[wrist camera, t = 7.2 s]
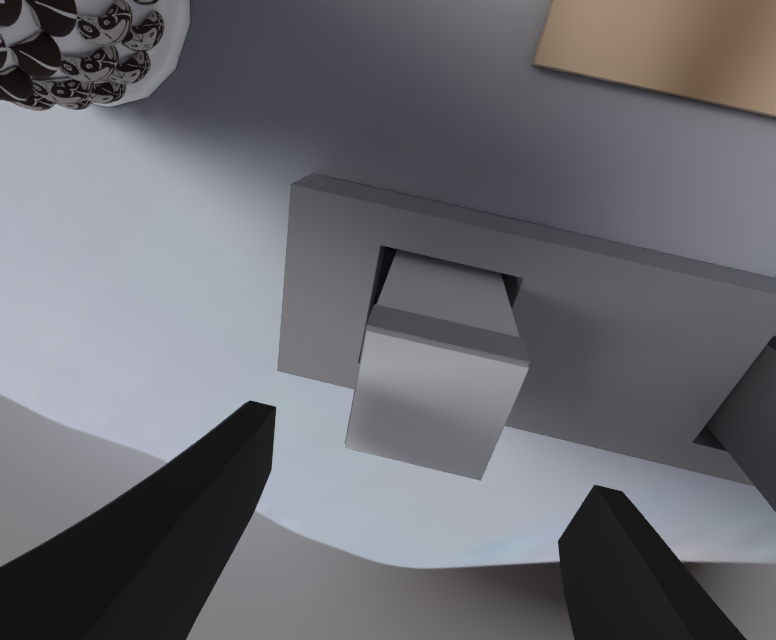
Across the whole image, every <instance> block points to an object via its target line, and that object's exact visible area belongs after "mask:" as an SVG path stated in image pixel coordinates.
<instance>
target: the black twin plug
mask: <svg viewBox="0 0 776 640" xmlns="http://www.w3.org/2000/svg"><path fill="white" fill-rule="evenodd" d="M706 425H707V426H708V428H709V429H710V430H711V431H712V433H713V434H714V435H715V436H716V438H717V439H718V440H719V441H720V443H721V444H722V445H723V446H724V448H725V449H726V450H727V452H728V453H729V454H730V455H731V457H732V458H733V459H734V460H735V462H736V463H737V464H738V465H739V467H740V468H741V469H742V470H743V472H744V473H745V474H746V475H747V477H748V478H749V479H750V480H751V482H752V483H753V484H754V485H755V487H756V488H757V489H758V490H759V492H760V493H761V494H762V495H763V497H764V498H765V499H766V500H767V502H768V503H769V504H770V505H771V507H772V508H773V509H774V510H775V512H776V336H773V337H772V338H771V339H770V341H769V342H768V343H767V345H766V346H765V347H764V349H763V350H762V351H761V353H760V354H759V355H758V356H757V358H756V359H755V360H754V362H753V363H752V364H751V366H750V367H749V368H748V370H747V371H746V372H745V374H744V375H743V376H742V378H741V379H740V380H739V382H738V383H737V384H736V385H735V387H734V388H733V389H732V391H731V392H730V393H729V395H728V396H727V397H726V399H725V400H724V401H723V403H722V404H721V405H720V407H719V408H718V409H717V411H716V412H715V413H714V414H713V416H712V417H711V418H710V420H709V421H708V422H707V424H706Z"/></svg>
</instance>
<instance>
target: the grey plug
mask: <svg viewBox="0 0 776 640" xmlns="http://www.w3.org/2000/svg"><path fill="white" fill-rule="evenodd" d="M529 364H530V360H529V357H528V353H527V350H526V347H525V344H524V340H523V338H521V337H520V336H519V333H518V330H517V326H516V323H515V320H514V316H513V313H512V310H511V306H510V303H509V299H508V296H507V293H506V289H505V286H504V283H503V279H502V276H501V273H499V272H495V271H491V270H486V269H482V268H478V267H473V266H469V265H465V264H460V263H456V262H452V261H447V260H443V259H439V258H434V257H430V256H426V255H421V254H417V253H413V252H408V251H404V250H400V249H397V251H396V254H395V257H394V259H393V262H392V265H391V267H390V270H389V273H388V275H387V278H386V281H385V283H384V286H383V289H382V291H381V294H380V297H379V300H378V302H377V305H376V304H374V307H373V309H372V312H371V315H370V317H369V320H368V322H367V325H366V331H365V336H364V342H363V347H362V353H361V358H360V363H359V369H358V374H357V380H356V385H355V391H354V396H353V402H352V407H351V413H350V418H349V424H348V429H347V435H346V440H345V444H346V446H345V448H348V449H352V450H356V451H360V452H364V453H369V454H373V455H377V456H381V457H385V458H389V459H393V460H398V461H402V462H406V463H410V464H414V465H418V466H423V467H427V468H431V469H435V470H439V471H443V472H447V473H452V474H456V475H460V476H464V477H468V478H472V479H477V480H481V479H482V476H483V474H484V472H485V469H486V467H487V465H488V462H489V460H490V458H491V455H492V453H493V451H494V448H495V446H496V444H497V441H498V439H499V437H500V435H501V432H502V430H503V428H504V425H505V423H506V421H507V418H508V416H509V414H510V411H511V409H512V407H513V404H514V402H515V400H516V397H517V395H518V393H519V390H520V388H521V386H522V383H523V381H524V379H525V376H526V374H527V372H528V369H529Z"/></svg>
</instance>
